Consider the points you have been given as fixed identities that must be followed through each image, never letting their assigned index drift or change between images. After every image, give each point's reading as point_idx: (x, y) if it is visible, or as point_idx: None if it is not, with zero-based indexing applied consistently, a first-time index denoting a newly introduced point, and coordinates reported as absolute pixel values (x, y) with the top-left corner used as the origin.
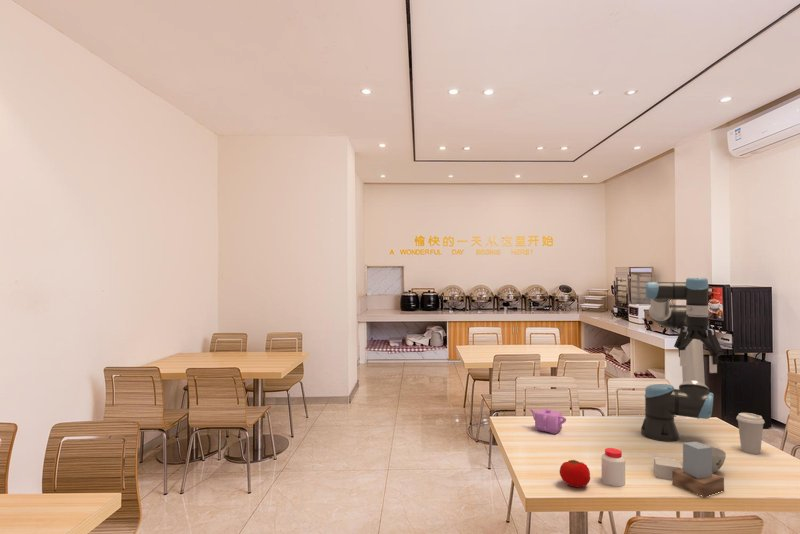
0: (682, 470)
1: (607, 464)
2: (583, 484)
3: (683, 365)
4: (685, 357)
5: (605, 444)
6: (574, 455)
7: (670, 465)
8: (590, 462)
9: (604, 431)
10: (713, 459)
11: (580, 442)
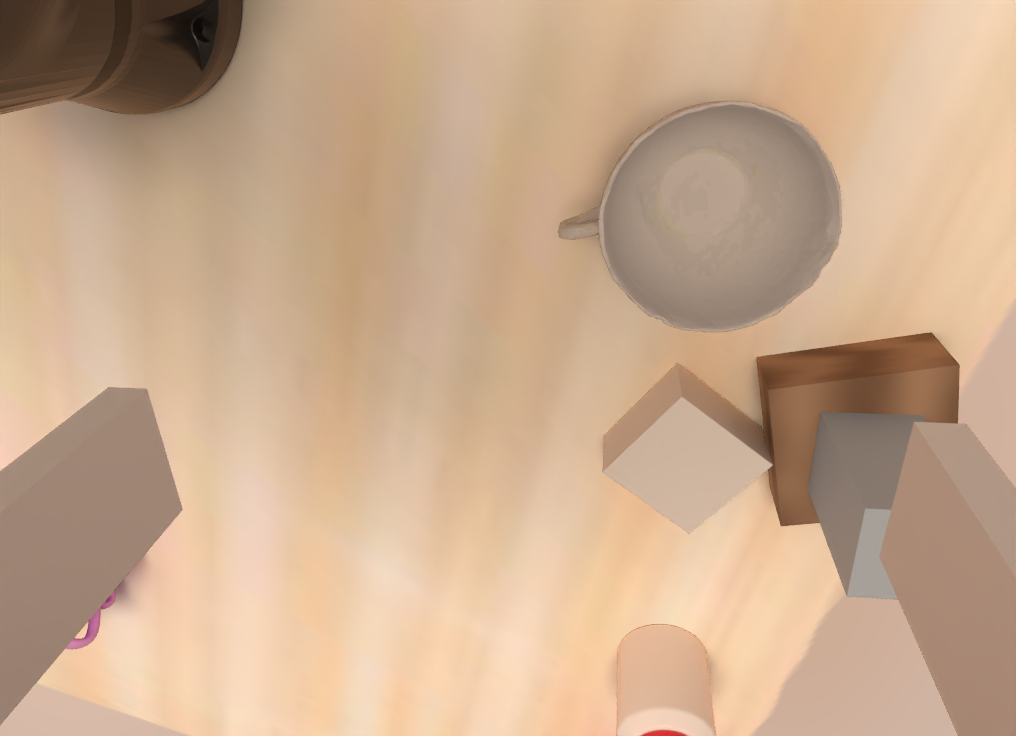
0: (796, 480)
1: None
2: None
3: (163, 477)
4: (12, 547)
5: (274, 426)
6: (393, 622)
7: (728, 488)
8: (474, 615)
9: (66, 294)
10: (810, 264)
11: (242, 513)
